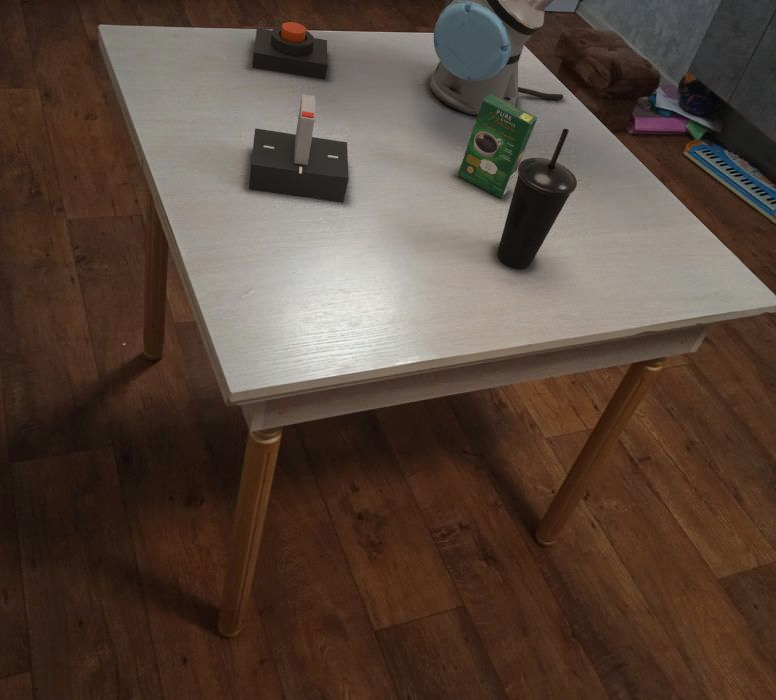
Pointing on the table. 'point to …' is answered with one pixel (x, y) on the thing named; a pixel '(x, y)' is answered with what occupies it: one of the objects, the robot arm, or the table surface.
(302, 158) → the grey upright slab
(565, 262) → the table surface
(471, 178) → the coffee box
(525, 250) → the drinking cup
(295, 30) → the button
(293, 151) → the panel
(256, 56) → the button block
